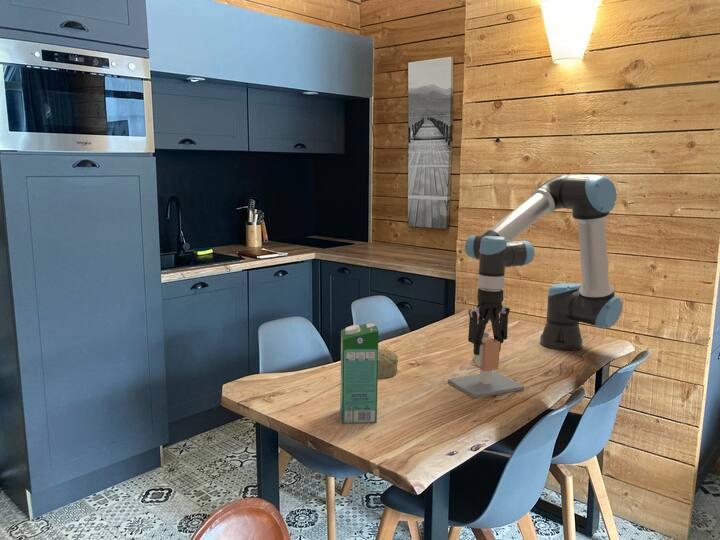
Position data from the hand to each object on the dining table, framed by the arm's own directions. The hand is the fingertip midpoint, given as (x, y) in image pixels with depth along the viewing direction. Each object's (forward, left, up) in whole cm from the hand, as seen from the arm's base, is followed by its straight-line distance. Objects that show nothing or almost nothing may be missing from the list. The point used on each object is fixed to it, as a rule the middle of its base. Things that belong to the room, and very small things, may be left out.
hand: (486, 363), depth 184 cm
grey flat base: (0, 0, -7) cm, 7 cm away
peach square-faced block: (0, 0, -1) cm, 1 cm away
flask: (-13, -19, -7) cm, 24 cm away
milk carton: (+45, +5, -7) cm, 46 cm away
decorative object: (+24, -22, -7) cm, 33 cm away
